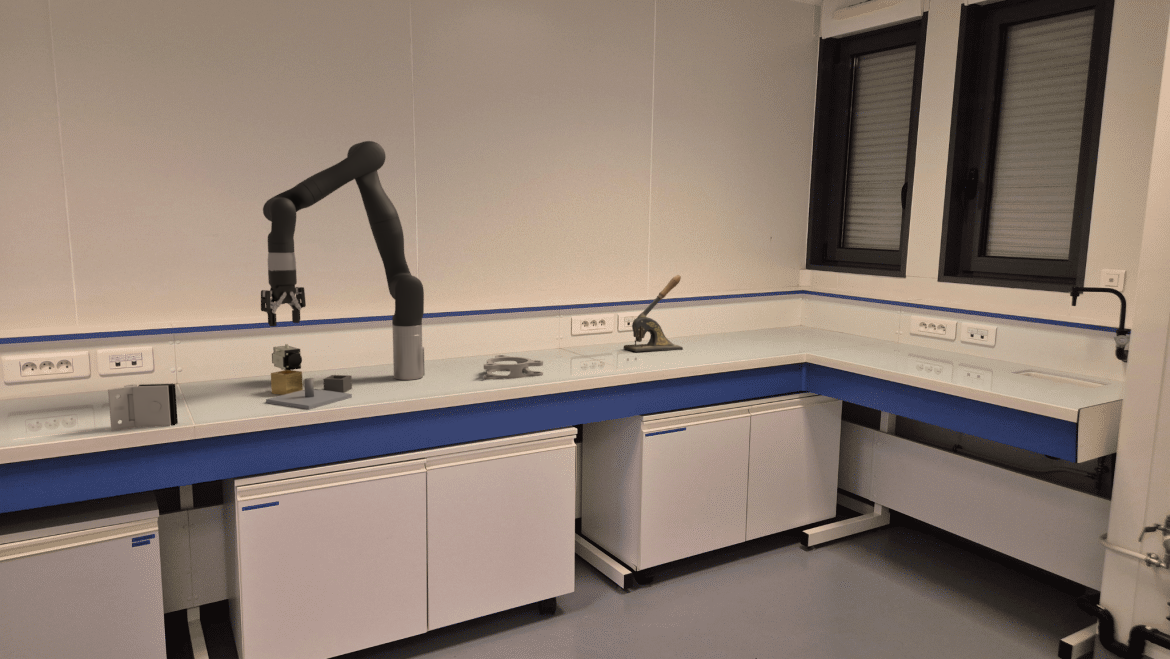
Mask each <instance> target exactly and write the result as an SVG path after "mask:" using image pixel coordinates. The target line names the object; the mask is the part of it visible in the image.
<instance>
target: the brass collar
mask: <svg viewBox="0 0 1170 659" xmlns="http://www.w3.org/2000/svg"><path fill="white" fill-rule="evenodd" d="M270 382H271V383H270V384H271V385H270V386H271V394H275V395H279V396H281V395H285V394H289V393H293V392H297V391H301V390H304V388H303V371H301V370H300V371H299V370H295V369H294V370H279V371H275V372H270Z"/></svg>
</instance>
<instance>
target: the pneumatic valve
mask: <svg viewBox="0 0 1170 659" xmlns="http://www.w3.org/2000/svg"><path fill="white" fill-rule="evenodd" d="M272 349H273V353H271V363H272V364H273V366H274V368H278V369H280V371H283V370H294V371H295V370H300V369H302V363H303V357H302V355H301V348H297V347H294V346H291V345H289V343H285V345H279V346H273V348H272Z"/></svg>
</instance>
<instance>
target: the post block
mask: <svg viewBox="0 0 1170 659" xmlns="http://www.w3.org/2000/svg"><path fill="white" fill-rule="evenodd" d="M303 381H304V382H303V383H304V389H303V390H301V391H297V392H293V393H289V394H285V395H278V396H274V397H273V396H272V397H270V398H266V399H265V403H267V404H273V405H278V406H284V407H291V408H297V409H303V410H304V409H306V410H312V409H316V408H318V407H323V406H326V405H330V404H333V403H336V402H337V403H338V402H340V401H344V400H347V399H350V398H351V399H352V396H353V394H352V393H347V392H344V393H341V392H334V391H327V390H324V389H320V388H319V389H318V388H315V387H314V386H315V385H314V384H315V383H314V382H315V379H314V378H312V377H307V378H304V380H303Z"/></svg>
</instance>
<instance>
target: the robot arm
mask: <svg viewBox="0 0 1170 659" xmlns="http://www.w3.org/2000/svg"><path fill="white" fill-rule="evenodd" d="M386 157H387V156H386V151H385V150H384V147H383V146H382V145H381V144H380V143H378V142H375V141H372V140H366V141H362V142H358V143H355V144H353V145H352V146H350V147H349V149H348V151H347V154H346V157H345V158H344V159H342V160H341V161H339V162H336V164H333V165H331V166H330V167H327V168H325V169H324V170H323V169H322V170H321V171H319V172H316V173H314V174H313V175H311V176H309V177H307V178H306V179H304V180H302V181H301V182H299V183H297V184H296V185H294V186H293V187H291V188H289V189H288V190H287V189H286V190H284V191H283V192H280V193H278V194H276V195H274V196H272V197H271V198H269V199H267V200H266V202H265V203H264V204H263V207H262V213H263V216H264V217H265V219H266V220H268V221H269V222H271V224H270V226H271V228H270V232H269V233H268V235H267V252H268V253H267V277H268V278H267V279H268V284H269V286H270V289H268V290H267V289H262V290H261V291H260V311H261V312H263V313H264V312H265V313H266V314H267V324H268V325H269V327H273V328H274V327H277V324H278V322H277V313H276V312H277V310H278V308H279V307H281V305H285V304H288V305H289V306H290V307H291V309H292V310H291V318H292V319H291V320H292V323H294V324H299V323H300V322H301V310H302V308H303V309H304V308H305V307H306V306H307V305H306V293H305V292H306V291H305V287H304V286H303V287H302V286H296V285H297V282H298V281H297V261H296V254H295V240H294V239H295V237H294V236H295V231H296V224H297V212H299V211H301V210H303V209H307V208H310V207H312V206H314V205H315V204H317V203H318V202H320V201H322V200H323V199H325V198H326V197H327V196H329V195H331V194H332V193H334V192H335V191H337V190H338V189H340V188H342V187H343V186H345V185H347V184H348V183H350V182H352V181H355V183H356V185H357V188H358V191H359V192H360V196H361V199H362V202H363V203H362V204H363V206H364V210H365V213H366V216H367V220H368V224H369V227H370V229H371V233H372V236H373V239H374V242H375V245H376V247H377V248H376V249H377V251H378V253H379V255H380V258H381V261H382V264H383V268H384V272H385V276H386V277H385V279H386V282H387V288H388V292H389V294H390V296H391V297H392V299H393V300H394V313H393V316H392V323H391V324H392V325H391V326H392V356H393V357H392V360H393V362H392V363H393V378H394V379H395V380H403V381H410V380H411V381H412V380H418V379H422V378H423V377H424V376H425V375H426V373H425V372H426V371H425V370H426V369H425V347H424V346H423V321H422V320H423V317H424V313H425V312H424V311H425V310H424V307H425V302H424V301H425V292H424V291H425V290H424V285H423V283H422V281H421V279H419V278H418V277H417V276H415V275H412V273H411V270H410V268H409V265H408V262H407V260H406V254H405V239H404V231H403V226H402V222H401V220H400V216H399V213H398V210H397V209H396V207H395V205H394V204H393V202H392V200H391V199H390V198H389V196H388V195H387V193H386V192H385V190H384V188H383V186H382V183H381V179H380V177H379V173H378V171H379V170H380V169H381V168H382V167H383V166H384V165H385V162H386Z"/></svg>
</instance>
